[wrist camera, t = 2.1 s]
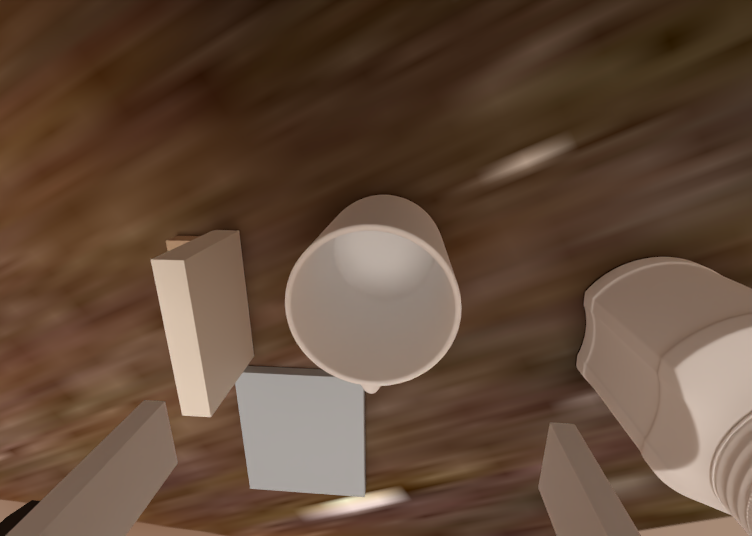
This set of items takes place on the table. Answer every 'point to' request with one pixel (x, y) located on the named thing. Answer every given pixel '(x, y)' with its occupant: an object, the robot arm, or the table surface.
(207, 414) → the beige block
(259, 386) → the plate
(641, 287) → the jar
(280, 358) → the table surface
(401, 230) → the mug
